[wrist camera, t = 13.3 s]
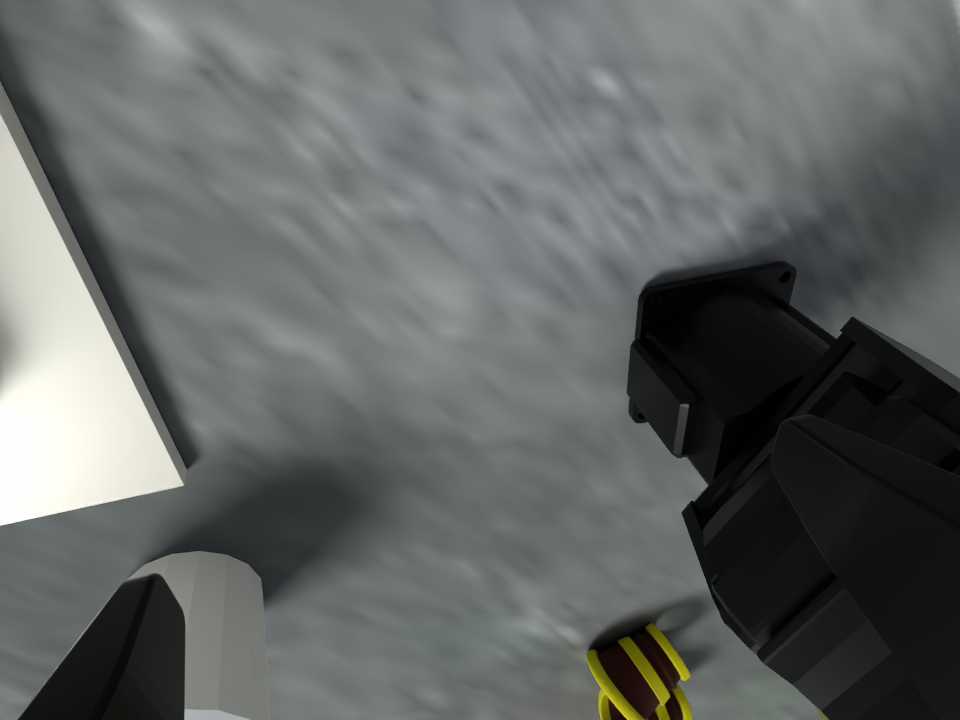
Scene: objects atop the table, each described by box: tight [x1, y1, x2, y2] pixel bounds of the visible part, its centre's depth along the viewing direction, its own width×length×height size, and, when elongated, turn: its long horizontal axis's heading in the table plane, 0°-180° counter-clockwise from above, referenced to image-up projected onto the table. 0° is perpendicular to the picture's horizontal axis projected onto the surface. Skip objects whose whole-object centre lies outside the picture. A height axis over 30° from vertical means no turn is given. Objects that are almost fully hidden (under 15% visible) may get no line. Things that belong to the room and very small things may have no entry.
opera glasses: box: [586, 623, 692, 720], centre depth 38 cm, size 10×5×5 cm, turn 13°
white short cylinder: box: [127, 551, 271, 720], centre depth 24 cm, size 7×7×7 cm
